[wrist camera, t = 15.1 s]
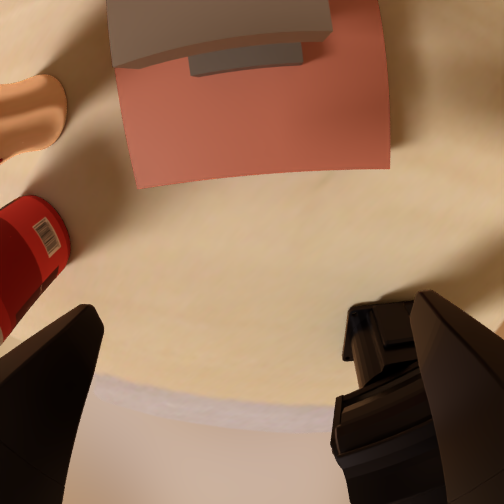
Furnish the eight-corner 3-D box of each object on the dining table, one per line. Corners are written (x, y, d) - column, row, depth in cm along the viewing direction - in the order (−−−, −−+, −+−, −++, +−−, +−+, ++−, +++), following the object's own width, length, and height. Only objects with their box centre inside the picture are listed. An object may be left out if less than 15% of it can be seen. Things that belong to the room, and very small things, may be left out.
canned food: (17, 177, 19) (-75, 238, 10) (81, 220, 21) (-9, 306, 11) (11, 242, 23) (-57, 308, 13) (67, 283, 24) (4, 366, 15)
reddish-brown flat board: (373, 156, 17) (389, 168, 14) (156, 174, 19) (137, 189, 16) (338, -84, 8) (346, -105, 5) (128, -55, 10) (108, -69, 7)
